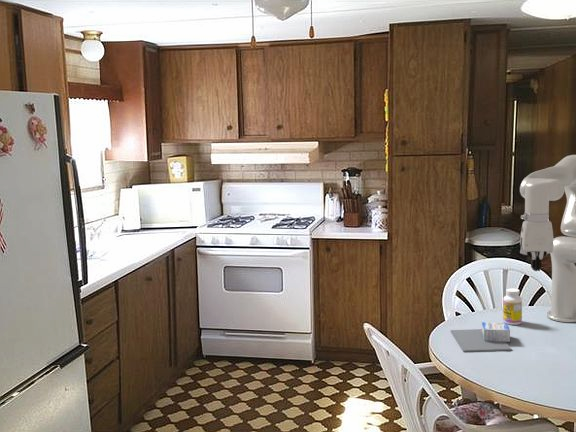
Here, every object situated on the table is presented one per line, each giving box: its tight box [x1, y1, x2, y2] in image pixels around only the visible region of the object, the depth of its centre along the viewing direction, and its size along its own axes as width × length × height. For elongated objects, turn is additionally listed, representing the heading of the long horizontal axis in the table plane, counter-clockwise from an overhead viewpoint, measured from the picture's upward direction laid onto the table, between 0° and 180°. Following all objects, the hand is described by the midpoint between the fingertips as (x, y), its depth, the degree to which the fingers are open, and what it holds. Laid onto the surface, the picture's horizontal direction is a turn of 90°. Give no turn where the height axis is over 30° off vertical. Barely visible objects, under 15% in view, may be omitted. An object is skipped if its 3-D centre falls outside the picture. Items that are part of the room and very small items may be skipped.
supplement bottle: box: [502, 287, 523, 326], centre depth 232 cm, size 7×7×13 cm
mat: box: [450, 328, 512, 353], centre depth 217 cm, size 20×16×1 cm
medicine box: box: [481, 321, 511, 343], centre depth 217 cm, size 8×4×9 cm
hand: (536, 269), depth 212 cm, fingers closed
